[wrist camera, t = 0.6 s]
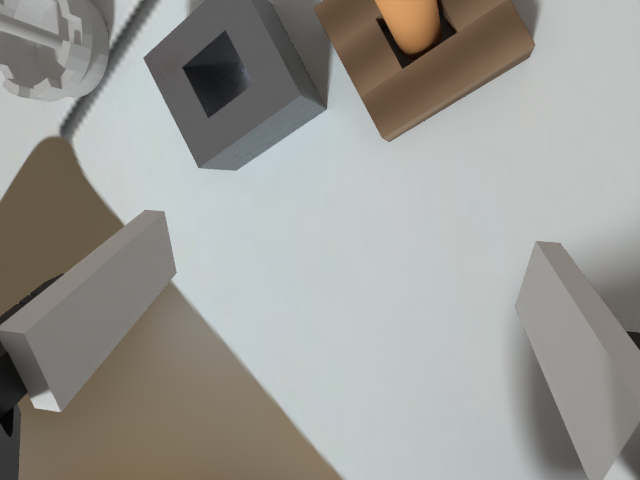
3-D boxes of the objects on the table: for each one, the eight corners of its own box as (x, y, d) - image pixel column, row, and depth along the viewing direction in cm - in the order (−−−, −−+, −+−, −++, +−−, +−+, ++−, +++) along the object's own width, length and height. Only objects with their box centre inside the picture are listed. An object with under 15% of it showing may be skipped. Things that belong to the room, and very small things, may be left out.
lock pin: (449, 44, 32) (437, -53, 19) (410, 70, 33) (373, -4, 20) (429, 6, 32) (403, -115, 19) (390, 33, 33) (342, -63, 20)
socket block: (326, 109, 36) (300, 95, 31) (236, 170, 40) (198, 168, 35) (271, 4, 37) (236, -28, 31) (187, 75, 41) (143, 57, 35)
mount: (529, 57, 30) (535, 44, 27) (389, 141, 35) (382, 138, 32) (454, -78, 31) (452, -104, 28) (325, 22, 35) (313, 8, 32)
